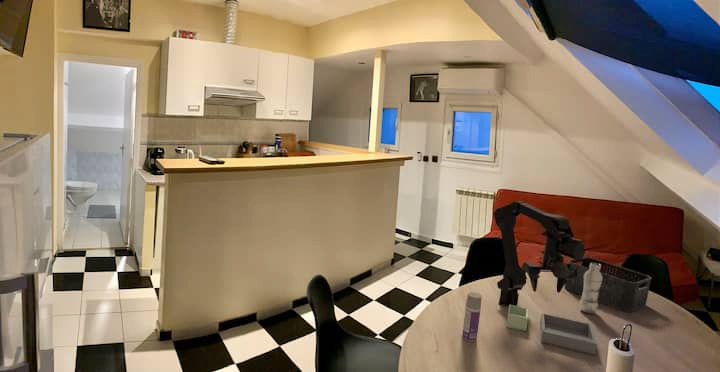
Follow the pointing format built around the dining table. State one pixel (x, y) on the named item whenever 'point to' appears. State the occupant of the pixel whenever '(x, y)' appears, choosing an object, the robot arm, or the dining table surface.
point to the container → (471, 317)
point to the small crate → (517, 317)
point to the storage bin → (613, 285)
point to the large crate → (567, 334)
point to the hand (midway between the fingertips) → (546, 291)
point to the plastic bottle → (591, 289)
